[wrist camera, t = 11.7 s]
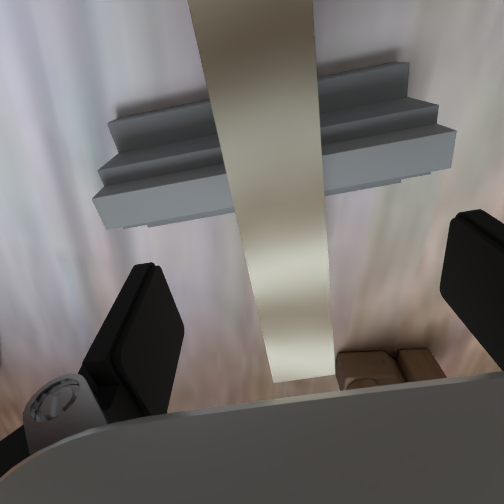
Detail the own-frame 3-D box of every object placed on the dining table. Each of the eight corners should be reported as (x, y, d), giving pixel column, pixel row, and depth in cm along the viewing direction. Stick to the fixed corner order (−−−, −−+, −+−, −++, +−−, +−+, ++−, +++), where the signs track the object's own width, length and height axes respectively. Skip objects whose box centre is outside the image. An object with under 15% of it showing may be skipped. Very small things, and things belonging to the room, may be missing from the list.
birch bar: (171, -123, 12) (143, -196, 8) (280, -150, 11) (297, -237, 8) (268, 336, 24) (273, 382, 21) (321, 328, 24) (335, 374, 21)
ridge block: (396, 61, 22) (466, 65, 15) (390, 174, 26) (443, 216, 19) (116, 118, 23) (66, 144, 16) (153, 216, 27) (125, 270, 21)
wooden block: (421, 367, 39) (537, 568, 24) (333, 371, 39) (394, 576, 24) (429, 346, 37) (561, 550, 22) (337, 350, 37) (405, 559, 22)
